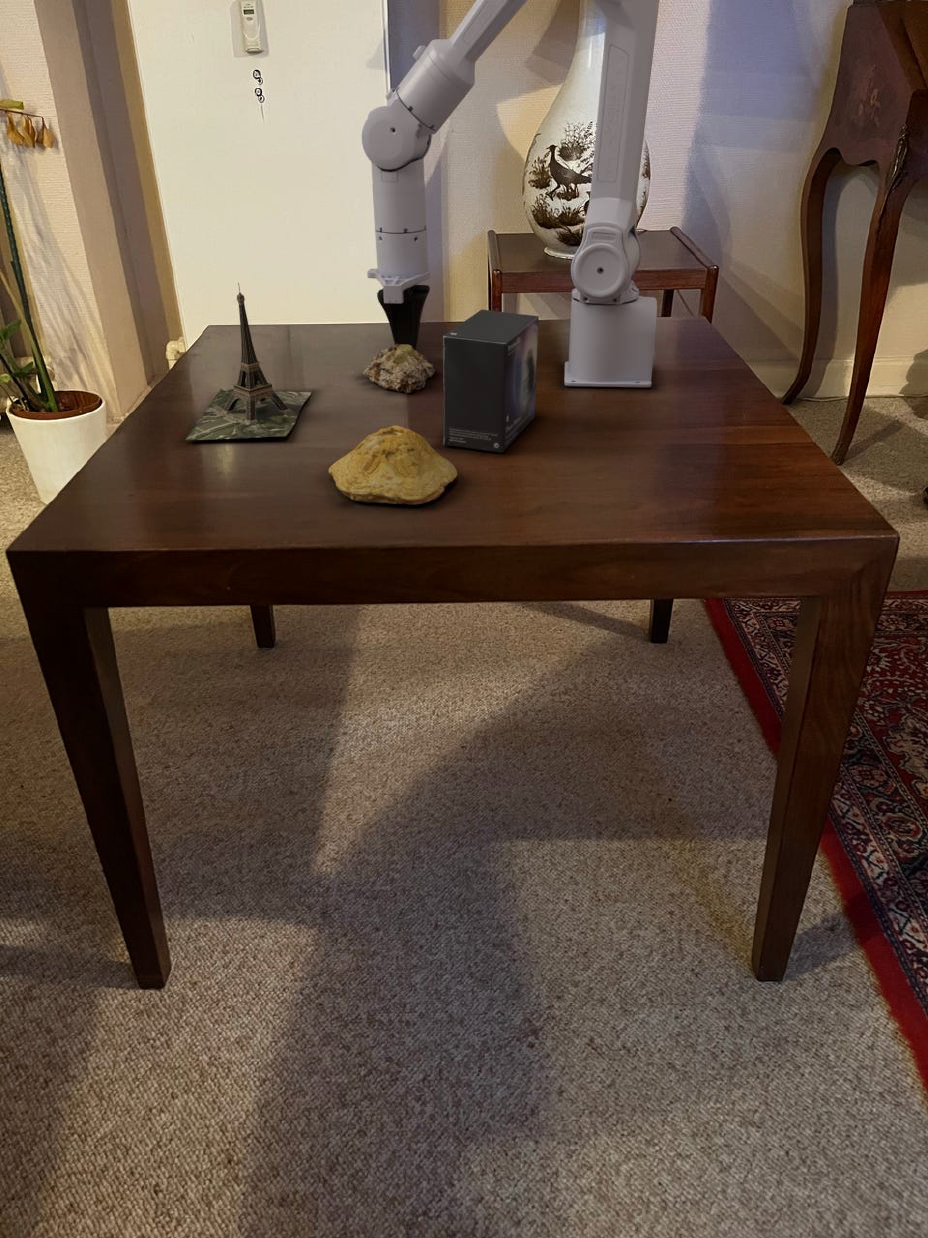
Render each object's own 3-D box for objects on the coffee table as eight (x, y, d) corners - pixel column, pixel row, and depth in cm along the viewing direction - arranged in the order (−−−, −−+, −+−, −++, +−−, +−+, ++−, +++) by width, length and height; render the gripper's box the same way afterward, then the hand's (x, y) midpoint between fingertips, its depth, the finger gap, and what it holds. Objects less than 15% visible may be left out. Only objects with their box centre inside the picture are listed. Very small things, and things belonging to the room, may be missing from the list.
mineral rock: (354, 348, 108) (419, 325, 108) (366, 382, 111) (430, 360, 111) (364, 379, 99) (435, 354, 99) (378, 416, 102) (446, 391, 102)
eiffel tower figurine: (220, 393, 102) (200, 266, 95) (311, 392, 102) (298, 264, 95) (185, 444, 90) (159, 302, 83) (290, 442, 90) (273, 300, 83)
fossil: (311, 429, 75) (363, 393, 83) (302, 493, 78) (352, 452, 87) (436, 477, 73) (476, 435, 82) (421, 540, 77) (461, 494, 85)
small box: (506, 455, 86) (508, 341, 81) (441, 447, 88) (438, 335, 83) (538, 417, 95) (542, 312, 89) (478, 411, 96) (478, 307, 91)
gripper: (377, 218, 109) (383, 334, 117) (352, 241, 97) (361, 369, 104) (436, 218, 109) (439, 335, 116) (418, 241, 97) (423, 370, 104)
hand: (406, 351), depth 110 cm, fingers closed
